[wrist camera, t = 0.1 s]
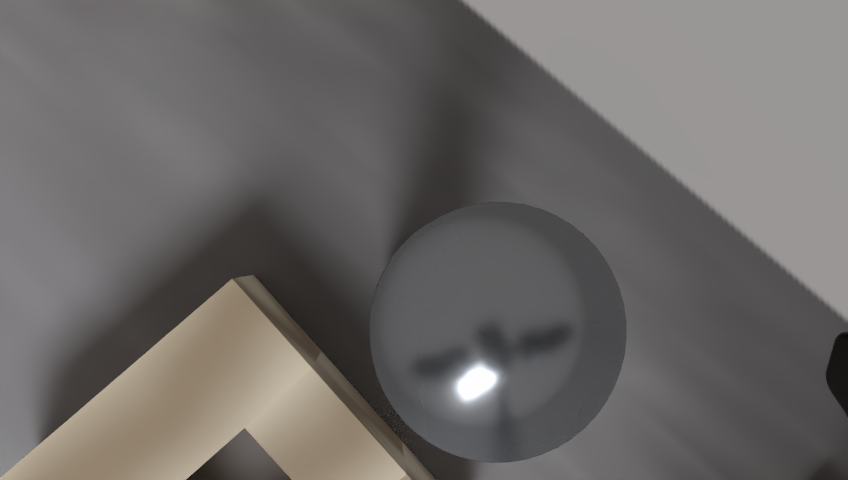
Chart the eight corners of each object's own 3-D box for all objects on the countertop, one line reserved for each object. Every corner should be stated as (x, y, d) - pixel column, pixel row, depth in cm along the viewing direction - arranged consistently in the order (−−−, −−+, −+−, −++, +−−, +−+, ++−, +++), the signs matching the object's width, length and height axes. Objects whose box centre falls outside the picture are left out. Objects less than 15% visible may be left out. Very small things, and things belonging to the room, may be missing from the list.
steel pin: (500, 289, 24) (677, 341, 10) (421, 360, 24) (488, 517, 10) (430, 209, 24) (511, 149, 10) (350, 280, 23) (314, 321, 9)
